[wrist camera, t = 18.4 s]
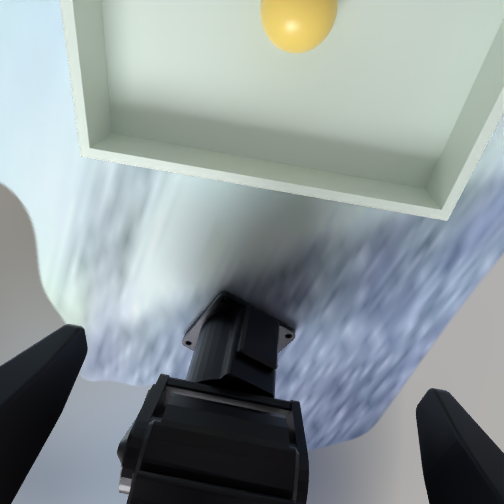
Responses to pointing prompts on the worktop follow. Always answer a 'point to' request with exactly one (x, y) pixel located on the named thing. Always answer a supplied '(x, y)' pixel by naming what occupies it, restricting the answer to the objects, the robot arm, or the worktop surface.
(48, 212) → the worktop surface
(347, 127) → the tray
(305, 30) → the ball
